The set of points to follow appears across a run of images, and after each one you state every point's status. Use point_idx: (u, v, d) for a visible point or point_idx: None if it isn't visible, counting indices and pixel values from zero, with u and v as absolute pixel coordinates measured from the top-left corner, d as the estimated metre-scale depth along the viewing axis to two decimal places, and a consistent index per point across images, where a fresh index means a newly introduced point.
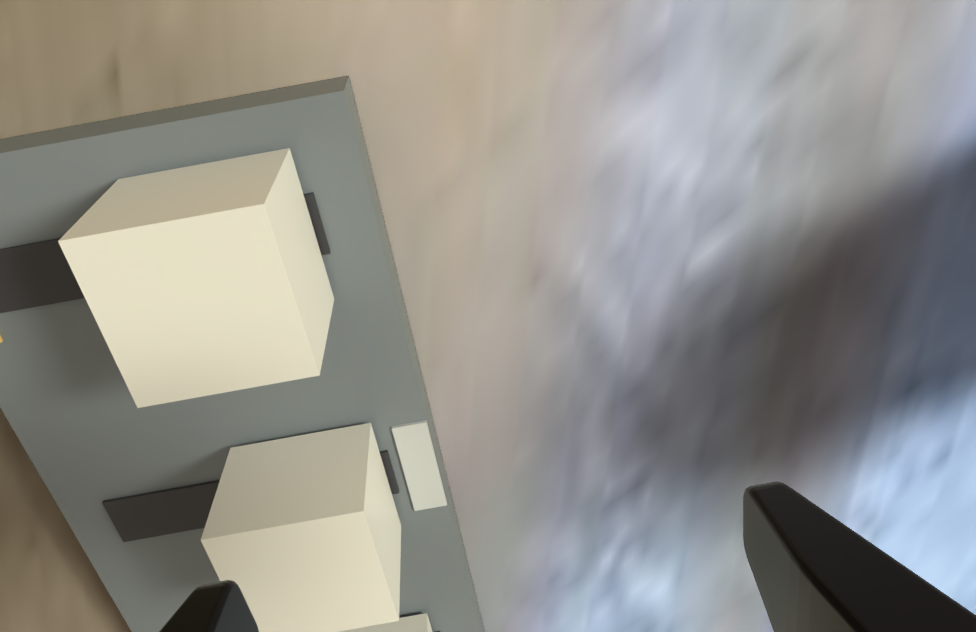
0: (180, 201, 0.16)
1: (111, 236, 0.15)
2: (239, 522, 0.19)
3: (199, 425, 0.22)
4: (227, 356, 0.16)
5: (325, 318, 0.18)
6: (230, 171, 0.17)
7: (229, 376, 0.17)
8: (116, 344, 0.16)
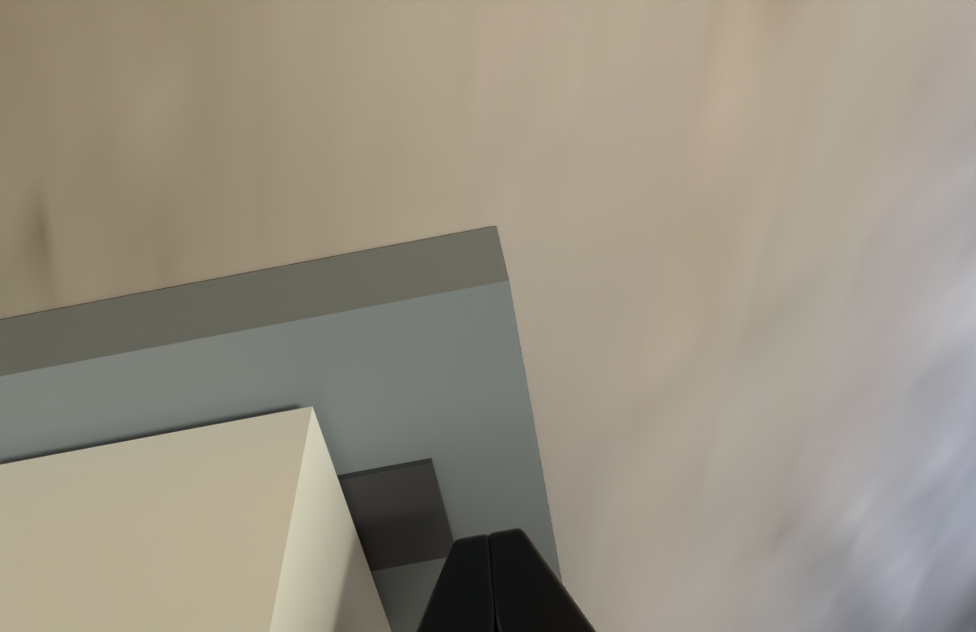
0: (63, 615, 0.07)
1: None
2: None
3: None
4: None
5: None
6: (188, 486, 0.08)
7: None
8: None
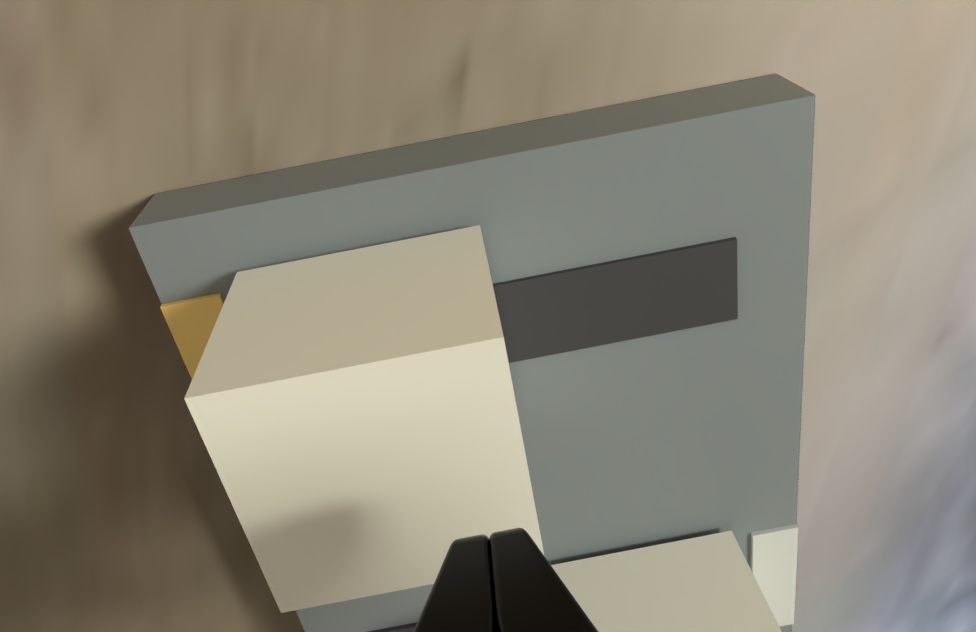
0: (356, 322, 0.11)
1: (266, 390, 0.10)
2: None
3: None
4: (419, 542, 0.11)
5: None
6: (409, 266, 0.12)
7: (416, 569, 0.11)
8: (259, 534, 0.11)
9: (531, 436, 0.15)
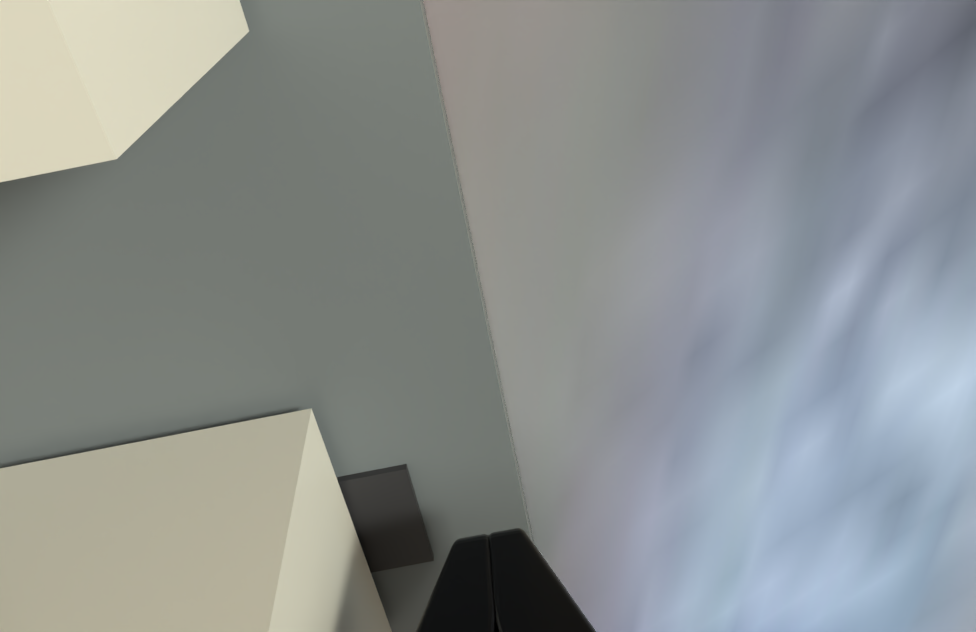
0: None
1: None
2: None
3: None
4: None
5: None
6: None
7: None
8: None
9: None
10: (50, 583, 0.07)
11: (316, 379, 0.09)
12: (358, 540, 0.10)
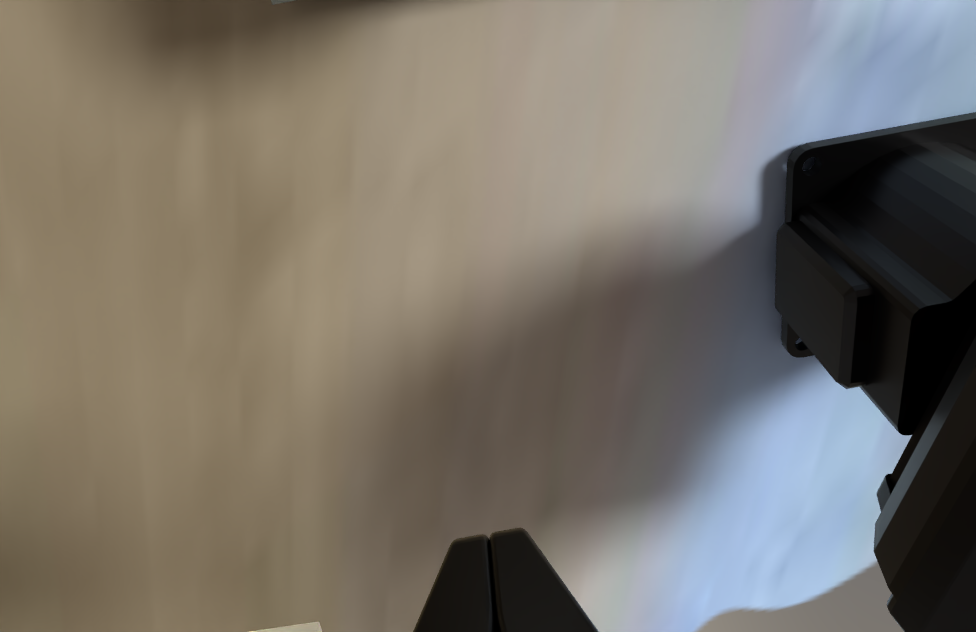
0: None
1: None
2: None
3: None
4: None
5: None
6: None
7: None
8: None
9: None
10: None
11: None
12: None
